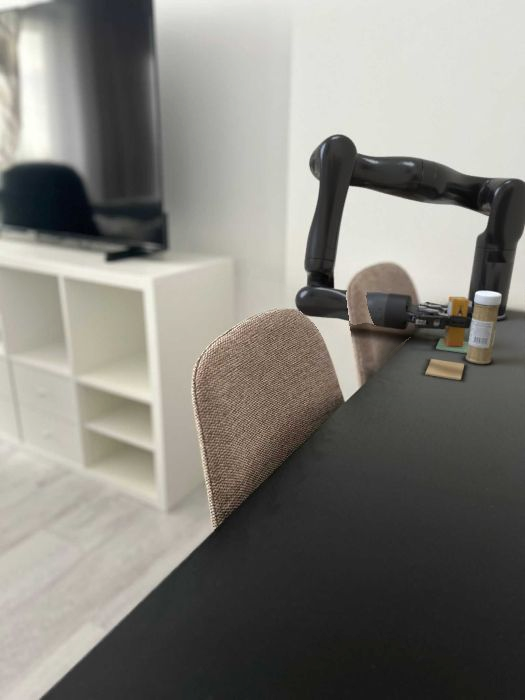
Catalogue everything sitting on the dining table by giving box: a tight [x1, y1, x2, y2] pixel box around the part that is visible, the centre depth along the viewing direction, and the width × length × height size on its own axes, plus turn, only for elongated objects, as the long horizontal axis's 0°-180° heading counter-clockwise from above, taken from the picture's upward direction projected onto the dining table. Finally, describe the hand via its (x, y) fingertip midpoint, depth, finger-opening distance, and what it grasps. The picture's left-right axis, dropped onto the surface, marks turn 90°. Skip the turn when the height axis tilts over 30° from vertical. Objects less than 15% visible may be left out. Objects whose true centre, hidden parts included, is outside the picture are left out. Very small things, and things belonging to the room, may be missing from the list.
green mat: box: [435, 337, 469, 354], centre depth 107 cm, size 7×6×1 cm
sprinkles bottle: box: [465, 291, 502, 365], centre depth 97 cm, size 5×5×13 cm
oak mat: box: [424, 358, 465, 381], centre depth 94 cm, size 8×6×1 cm
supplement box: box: [443, 296, 469, 347], centre depth 105 cm, size 3×3×10 cm
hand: (470, 320), depth 104 cm, fingers closed on supplement box, 3 cm apart
